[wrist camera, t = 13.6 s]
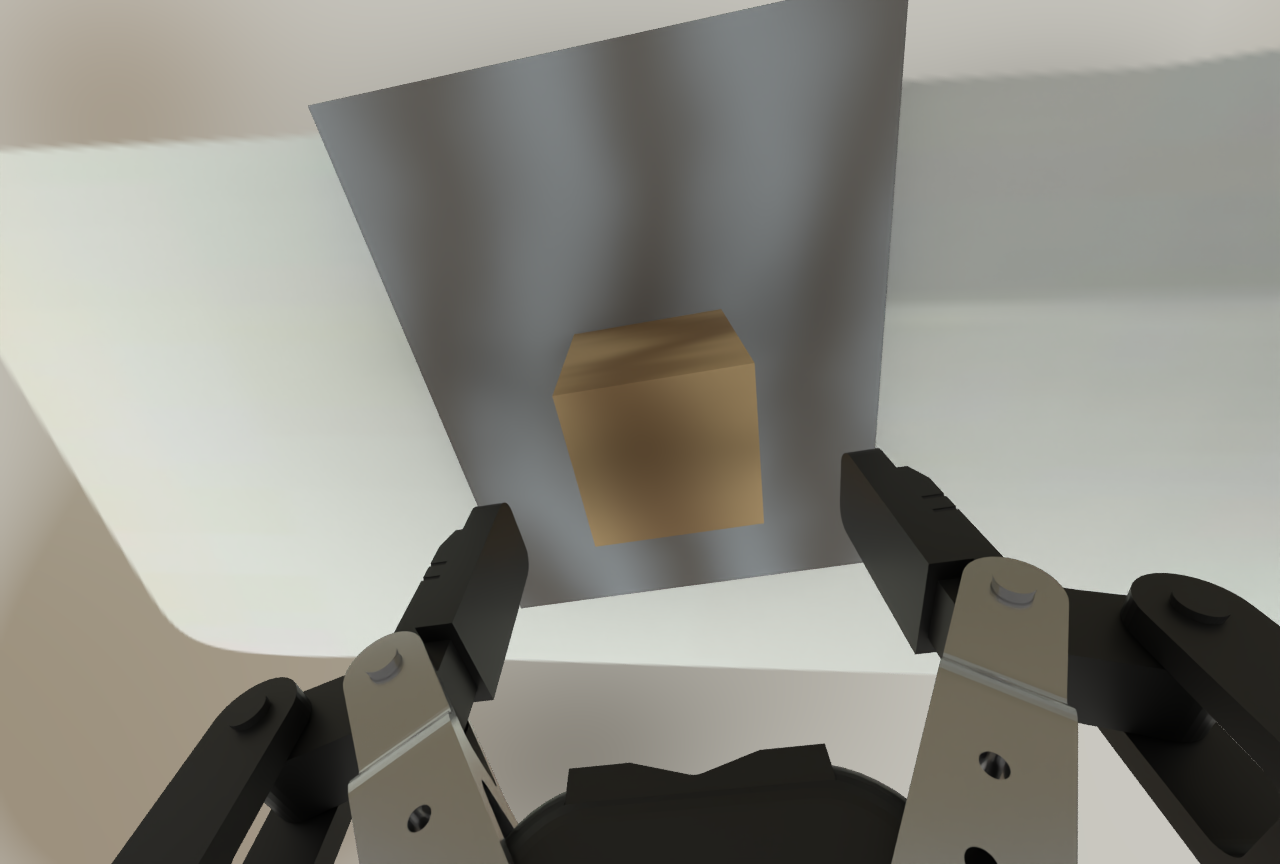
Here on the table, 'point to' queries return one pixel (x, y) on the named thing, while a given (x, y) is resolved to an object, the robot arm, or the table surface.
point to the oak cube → (662, 428)
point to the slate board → (645, 257)
